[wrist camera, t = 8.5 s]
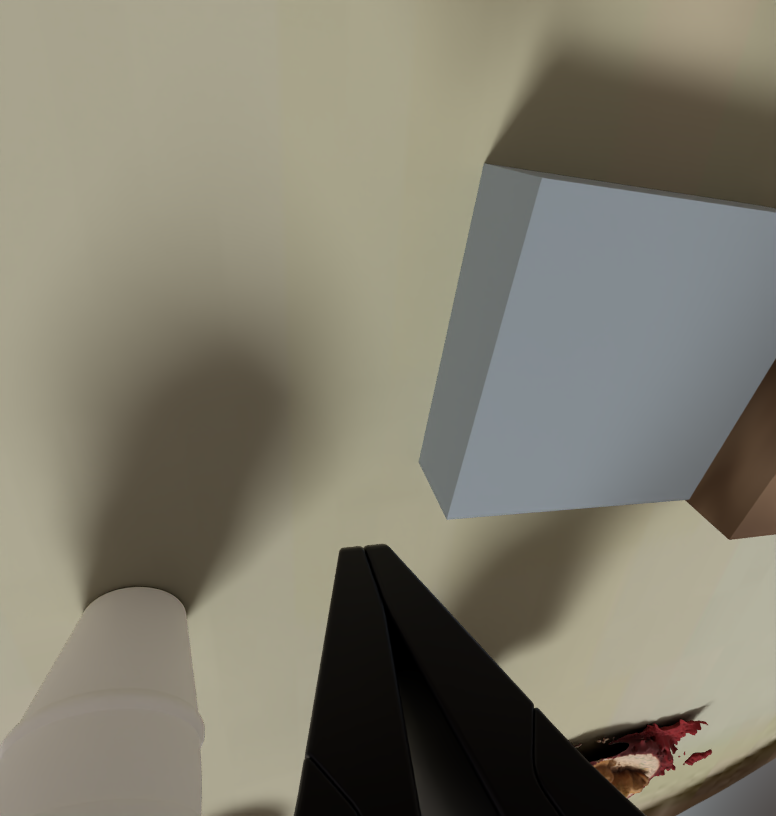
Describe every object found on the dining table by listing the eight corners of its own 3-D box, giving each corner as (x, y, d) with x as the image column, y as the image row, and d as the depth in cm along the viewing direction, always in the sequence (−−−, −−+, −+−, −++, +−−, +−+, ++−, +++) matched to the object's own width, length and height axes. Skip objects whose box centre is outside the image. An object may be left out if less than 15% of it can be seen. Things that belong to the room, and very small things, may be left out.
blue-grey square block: (630, 447, 25) (688, 499, 22) (416, 456, 21) (446, 519, 18) (751, 203, 19) (857, 224, 16) (479, 161, 15) (542, 177, 12)
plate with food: (471, 754, 42) (486, 801, 40) (698, 709, 49) (724, 746, 46) (422, 851, 55) (430, 892, 52) (609, 804, 61) (626, 838, 59)
